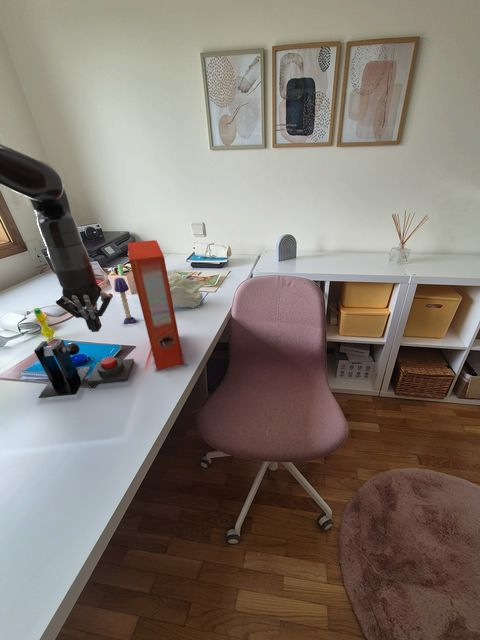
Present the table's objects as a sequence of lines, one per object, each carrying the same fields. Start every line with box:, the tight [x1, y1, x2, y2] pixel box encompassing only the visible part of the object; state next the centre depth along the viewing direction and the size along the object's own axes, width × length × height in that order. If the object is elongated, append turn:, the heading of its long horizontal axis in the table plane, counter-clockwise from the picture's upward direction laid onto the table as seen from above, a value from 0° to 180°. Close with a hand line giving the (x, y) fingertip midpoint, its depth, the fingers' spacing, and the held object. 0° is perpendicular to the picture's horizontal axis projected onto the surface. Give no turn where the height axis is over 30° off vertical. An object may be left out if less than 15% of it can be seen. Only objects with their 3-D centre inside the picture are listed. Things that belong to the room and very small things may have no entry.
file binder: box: [127, 239, 185, 371], centre depth 86 cm, size 8×17×32 cm, turn 22°
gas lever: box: [43, 342, 81, 357], centre depth 81 cm, size 13×4×4 cm, turn 8°
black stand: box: [33, 339, 92, 399], centre depth 79 cm, size 12×9×13 cm
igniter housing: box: [86, 357, 135, 386], centre depth 84 cm, size 10×9×4 cm
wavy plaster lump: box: [168, 275, 206, 309], centre depth 119 cm, size 18×13×16 cm
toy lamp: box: [113, 277, 137, 325], centre depth 108 cm, size 5×5×17 cm
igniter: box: [100, 356, 117, 369], centre depth 83 cm, size 4×4×2 cm
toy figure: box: [33, 307, 55, 340], centre depth 99 cm, size 7×4×12 cm, turn 26°
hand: (96, 330), depth 78 cm, fingers closed
